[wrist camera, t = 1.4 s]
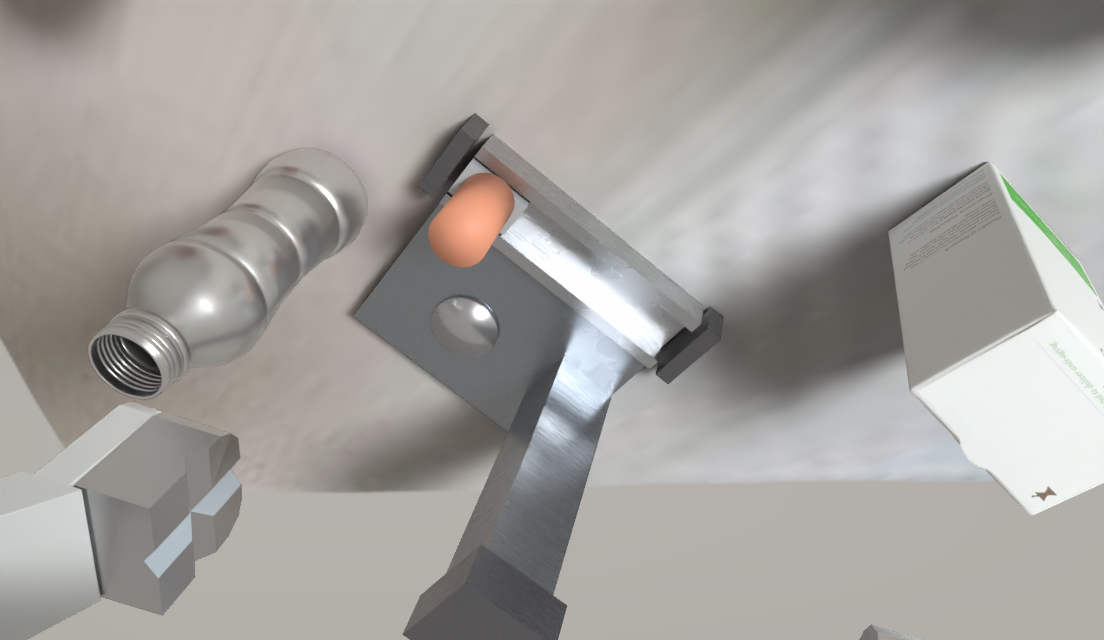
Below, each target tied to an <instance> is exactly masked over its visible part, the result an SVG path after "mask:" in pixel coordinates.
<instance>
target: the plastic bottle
mask: <svg viewBox="0 0 1104 640" xmlns="http://www.w3.org/2000/svg"><path fill="white" fill-rule="evenodd" d="M367 210H368V202H367V196H366V193H365V189H364V187H363V185H362V183H361V181H360V179H359V177H358V176H357V174H356V173H355V172H354V170H353V169H352V168H351V167H350V166H349V165H348V164H347V163H345V162H344V161H343V160H341V159H340V158H338V157H336V156H334V155H332V154H330V153H328V152H326V151H322V150H319V149H313V148H300V149H297V150H293V151H290V152H288V153H285V154H282V155H280V156H278V157H276V158H274V159H273V160H271V161H270V162H269V163H268V164H267V165H266V166H265V167H264V169H263V170H262V171H261V172H260V173H259V174H258V175H257V177H256V178H255V180H254V181H253V183H252V185H251V187H250V188H249V189H248V190H247V191H246V192H245V193H244V194H243V195H242V196H241V197H240V198H239V199H238V200H237V201H236V202H235V203H234V204H233V205H232V206H231V207H230V208H228V209H227V210H225V211H224V212H222V213H221V214H219V215H218V216H216V217H215V218H213V219H212V220H210V221H209V222H207V223H206V224H204V225H203V226H201V227H199V228H197V229H195V230H193V231H191V232H189V233H187V234H185V235H183V236H181V237H178V238H176V239H174V240H172V241H170V242H169V243H166V244H164V245H163V246H161V247H159V248H157V249H156V250H154V251H153V252H151V253H149V254H148V255H146V256H145V258H144V259H143V260H142V261H141V262H140V264H139V265H138V267H137V269H136V270H135V272H134V274H133V276H132V278H131V280H130V283H129V289H128V295H127V302H126V310H124V311H122V312H120V313H118V314H117V315H116V316H114V317H113V318H112V319H111V320H110V321H109V323H108V325H107V326H105V327H104V328H103V329H101V330H100V331H99V332H97V333H96V334H95V335H94V336H93V338H92V339H91V340H90V342H89V344H88V350H87V351H88V358H89V361H90V364H91V365H92V367H93V369H94V371H95V372H96V373H97V375H98V376H99V377H100V378H101V379H102V380H103V381H104V382H105V383H106V384H107V385H108V386H109V387H111V388H112V389H114V390H115V391H117V392H119V393H121V394H123V395H125V396H128V397H130V398H134V399H142V400H146V399H152V398H154V397H156V396H157V395H159V394H161V393H162V392H163V391H164V390H165V389H166V388H167V387H168V386H170V385H171V384H172V383H174V382H176V381H178V380H179V379H180V378H181V377H183V376H184V375H185V374H186V373H187V372H188V370H189V368H203V367H214V366H219V365H224V364H226V363H228V362H230V361H233V360H235V359H237V358H239V357H241V356H243V355H245V354H246V353H247V352H248V351H250V350H251V349H252V348H253V346H254V345H255V344H256V342H257V341H258V340H259V339H260V337H261V336H262V334H263V332H264V330H265V329H266V327H267V326H268V324H269V323H270V321H271V319H272V318H273V316H274V314H275V313H276V311H277V310H278V308H279V306H280V305H281V303H282V302H283V301H284V300H285V299H286V297H287V296H288V295H289V294H290V293H291V291H292V290H293V288H294V287H295V286H296V285H297V284H298V283H299V282H300V280H301V279H302V278H303V277H304V276H305V275H307V274H308V273H309V272H310V271H312V270H313V269H314V268H315V267H317V266H318V265H319V264H320V263H321V262H323V261H324V260H326V259H328V258H330V257H332V256H334V255H336V254H337V253H339V252H340V251H342V250H343V249H344V248H346V247H347V246H348V245H350V244H351V243H352V242H353V241H354V240H355V238H356V237H357V235H358V234H359V232H360V230H361V228H362V226H363V224H364V222H365V219H366V216H367Z"/></svg>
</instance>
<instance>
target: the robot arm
mask: <svg viewBox="0 0 1104 640" xmlns="http://www.w3.org/2000/svg"><path fill="white" fill-rule="evenodd" d="M239 459H240V450H239V440H238V438H237V437H235V436H234V435H232V434H231V433H228V432H225V431H222V430H219V429H216V428H213V427H210V426H207V425H204V424H201V423H198V422H195V421H192V420H189V419H186V418H183V417H180V416H176V415H173V414H170V413H167V412H162V411H159V410H156V409H153V408H150V407H147V406H144V405H141V404H138V403H135V402H129V403H125V404H121V405H119V406H117V407H116V408H115V409H114V410H112V411H111V412H110V413H109V414H107V415H106V416H105V417H104V418H102V419H101V420H100V421H99V422H97V423H96V424H95V425H94V426H92V427H91V428H90V429H89V430H88V431H86V432H85V433H84V434H83V435H81V436H80V437H79V438H78V439H76V440H75V441H74V442H73V443H71V444H70V445H69V446H68V447H66V448H65V449H64V450H63V451H61V452H60V453H59V454H58V455H57V456H55V457H54V458H53V459H52V460H50V461H49V462H48V463H47V464H45V465H44V466H43V467H42V468H40V469H39V470H38V471H37V472H35V473H34V474H32V473H28V472H25V471H21V472H18V473H15V474H11V475H8V476H5V477H1V478H0V640H27V639H29V638H31V637H33V636H34V635H37V634H38V633H40V632H42V631H44V630H46V629H48V628H50V627H52V626H53V625H56V624H57V623H59V622H61V621H63V620H65V619H67V618H69V617H71V616H73V615H75V614H77V613H78V612H80V611H82V610H84V609H86V608H88V607H90V606H92V605H93V604H96V603H98V602H99V601H101V597H103V598H106V599H110V600H113V601H116V602H119V603H123V604H126V605H130V606H133V607H136V608H139V609H143V610H146V611H149V612H152V613H156V614H159V615H164V613H165V612H166V611H167V610H168V609H169V607H170V606H171V605H172V604H173V603H174V601H175V600H176V599H177V598H178V597H179V596H180V594H181V593H182V592H183V591H184V590H185V588H186V587H187V586H188V585H189V584H190V583H191V581H192V580H193V579H194V578H195V561H196V560H198V559H201V558H203V557H205V556H208V555H210V554H213V553H215V552H216V551H217V550H218V549H219V548H220V546H221V545H222V544H223V542H224V541H225V540H226V539H227V538H228V536H229V534H230V532H231V530H232V528H233V526H234V524H235V522H236V520H237V518H238V516H239V510H240V506H241V501H242V484H241V483H240V481H239V480H238V478H237V477H236V475H235V474H234V472H233V471H232V469H231V468H232V467H233V466H234V465H235V463H236V462H237V461H238V460H239ZM860 640H923V639H919V638H916V637H912V636H909V635H905V634H902V633H899V632H895V631H892V630H888V629H885V628H881V627H878V626H874V625H870V626H869V627H868V628H867V629H866V630H865V631H864V632H863V634H862V636H861V638H860Z"/></svg>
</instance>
